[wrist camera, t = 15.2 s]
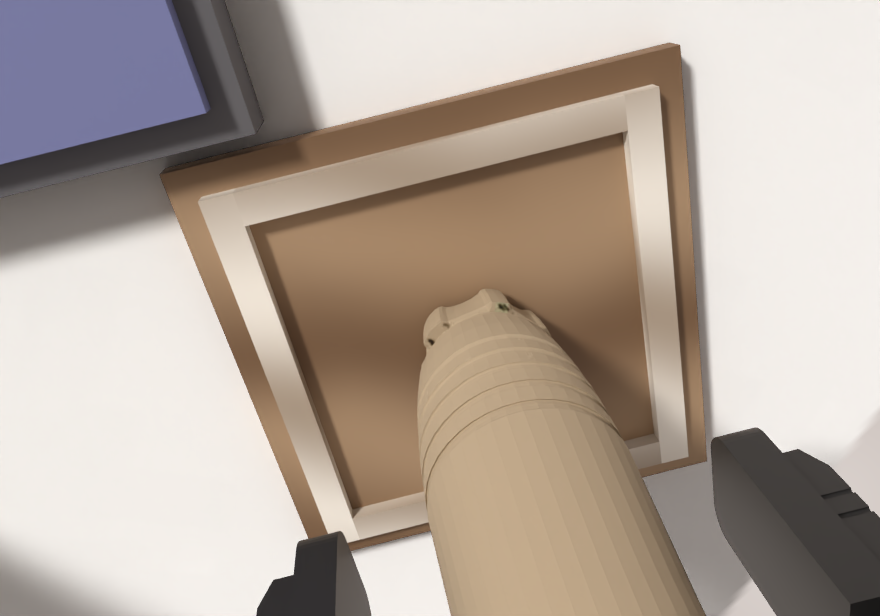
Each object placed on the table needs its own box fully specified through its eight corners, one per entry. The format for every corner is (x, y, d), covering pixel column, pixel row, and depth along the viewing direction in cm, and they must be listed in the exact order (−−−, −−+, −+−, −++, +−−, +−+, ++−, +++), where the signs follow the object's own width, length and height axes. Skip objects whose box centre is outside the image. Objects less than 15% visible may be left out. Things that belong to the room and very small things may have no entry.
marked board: (165, 168, 16) (154, 179, 15) (668, 42, 16) (687, 46, 15) (318, 544, 21) (316, 569, 21) (698, 448, 22) (713, 469, 21)
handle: (625, 292, 18) (1383, 1204, 5) (474, 461, 20) (731, 1451, 7) (480, 190, 17) (1046, 1170, 3) (331, 386, 18) (298, 1510, 5)
